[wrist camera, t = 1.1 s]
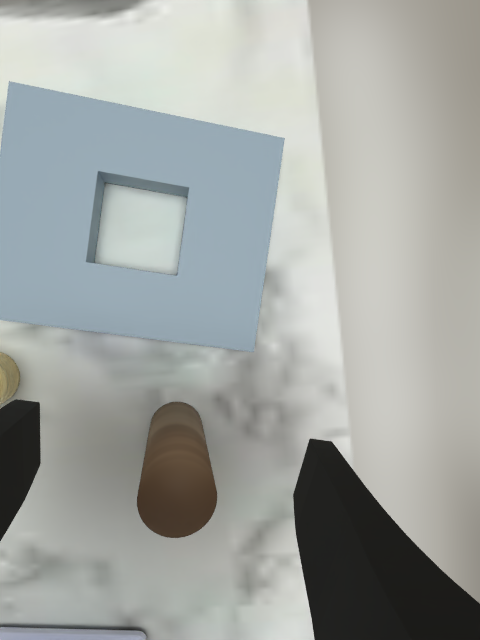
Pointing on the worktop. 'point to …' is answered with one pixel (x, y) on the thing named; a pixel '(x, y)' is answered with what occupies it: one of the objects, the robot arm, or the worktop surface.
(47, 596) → the worktop surface
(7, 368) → the brass pin
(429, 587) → the robot arm
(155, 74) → the worktop surface
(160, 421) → the walnut pin
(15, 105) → the hole plate
